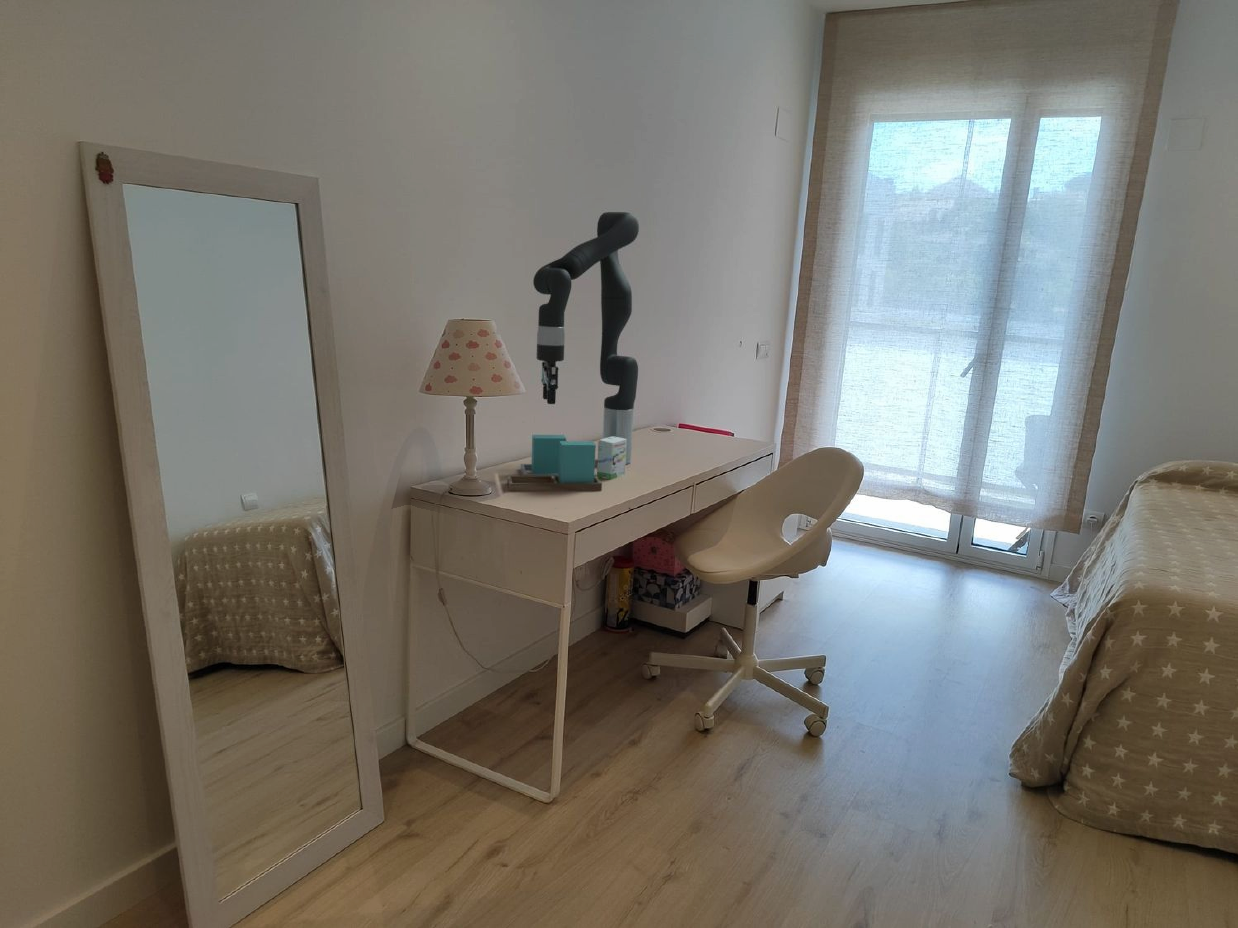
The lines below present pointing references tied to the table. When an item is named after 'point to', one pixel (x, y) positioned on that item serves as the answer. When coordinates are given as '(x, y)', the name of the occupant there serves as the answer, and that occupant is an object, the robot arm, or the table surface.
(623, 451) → the ink box
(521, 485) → the brown shallow tray
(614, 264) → the robot arm
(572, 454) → the block
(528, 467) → the grey square tray
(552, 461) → the block
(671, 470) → the table surface
